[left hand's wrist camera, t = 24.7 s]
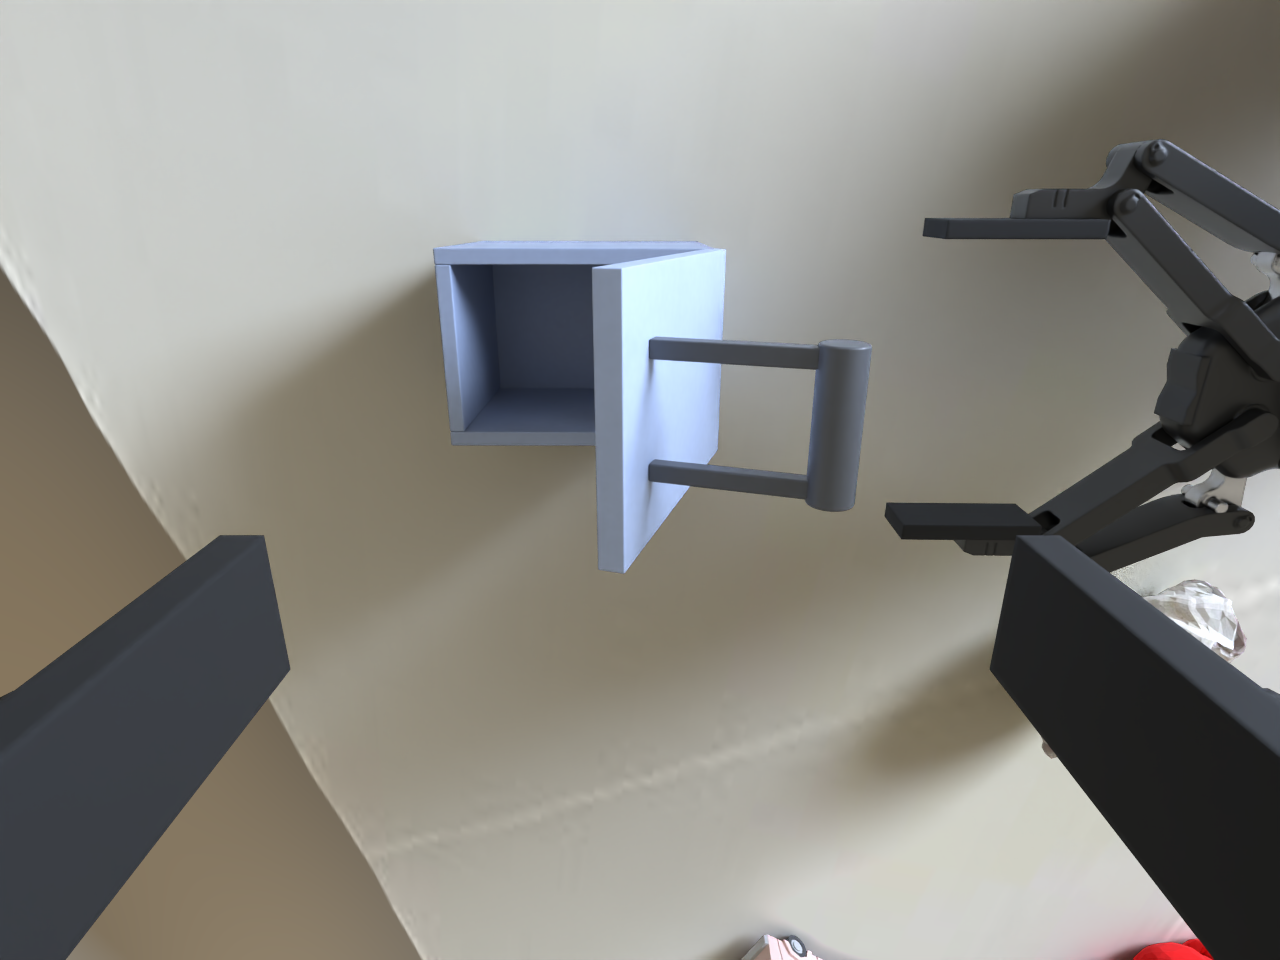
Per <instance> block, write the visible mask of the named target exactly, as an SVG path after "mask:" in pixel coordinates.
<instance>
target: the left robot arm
mask: <svg viewBox="0 0 1280 960" xmlns="http://www.w3.org/2000/svg"><path fill="white" fill-rule="evenodd" d="M289 671H290V665H289V660H288V655H287V650H286V645H285V639H284V634H283V629H282V624H281V619H280V614H279V609H278V604H277V599H276V594H275V589H274V584H273V579H272V574H271V569H270V564H269V559H268V554H267V549H266V544H265V539H264V535H220V536H218V537H217V538H216V539H215V540H213V541H212V542H211V543H209V544H208V545H207V546H205V547H204V548H203V549H201V550H200V551H199V552H197V553H196V554H195V555H193V556H192V557H191V558H189V559H188V560H187V561H185V562H184V563H183V564H181V565H180V566H179V567H177V568H176V569H175V570H173V571H172V572H171V573H170V574H168V575H167V576H166V577H164V578H163V579H162V580H160V581H159V582H158V583H156V584H155V585H154V586H152V587H151V588H150V589H148V590H147V591H146V592H144V593H143V594H142V595H140V596H139V597H138V598H136V599H135V600H134V601H132V602H131V603H130V604H129V605H127V606H126V607H124V608H123V609H122V610H121V611H119V612H118V613H117V614H115V615H114V616H113V617H111V618H110V619H109V620H107V621H106V622H105V623H103V624H102V625H101V626H99V627H98V628H97V629H95V630H94V631H93V632H91V633H90V634H89V635H87V636H86V637H85V638H83V639H82V640H81V641H80V642H78V643H77V644H76V645H74V646H73V647H72V648H70V649H69V650H68V651H66V652H65V653H64V654H62V655H61V656H60V657H58V658H57V659H56V660H54V661H53V662H52V663H50V664H49V665H48V666H46V667H45V668H44V669H42V670H41V671H40V672H38V673H37V674H36V675H35V676H33V677H32V678H31V679H29V680H28V681H27V682H25V683H24V684H23V685H21V686H20V687H19V688H17V689H16V690H15V691H12V692H10V693H8V694H6V695H4V696H2V697H0V960H66V958H67V957H68V956H69V955H70V953H71V952H72V951H73V949H74V948H75V947H76V945H77V944H78V943H79V942H80V940H81V939H82V938H83V937H84V935H85V934H86V933H87V931H88V930H89V929H90V927H91V926H92V925H93V924H94V922H95V921H96V920H97V918H98V917H99V916H100V915H101V913H102V912H103V911H104V909H105V908H106V907H107V905H108V904H109V903H110V902H111V900H112V899H113V898H114V897H115V895H116V894H117V893H118V891H119V890H120V889H121V887H122V886H123V885H124V884H125V882H126V881H127V880H128V878H129V877H130V876H131V875H132V873H133V872H134V871H135V869H136V868H137V867H138V866H139V864H140V863H141V862H142V860H143V859H144V858H145V856H146V855H147V854H148V853H149V851H150V850H151V849H152V847H153V846H154V845H155V844H156V842H157V841H158V840H159V838H160V837H161V836H162V835H163V833H164V832H165V831H166V829H167V828H168V827H169V825H170V824H171V823H172V822H173V820H174V819H175V818H176V816H177V815H178V814H179V813H180V811H181V810H182V809H183V807H184V806H185V805H186V804H187V802H188V801H189V800H190V798H191V797H192V796H193V795H194V793H195V792H196V791H197V789H198V788H199V787H200V785H201V784H202V783H203V782H204V780H205V779H206V778H207V776H208V775H209V774H210V773H211V771H212V770H213V769H214V767H215V766H216V765H217V764H218V762H219V761H220V760H221V758H222V757H223V756H224V754H225V753H226V752H227V751H228V749H229V748H230V747H231V745H232V744H233V743H234V742H235V740H236V739H237V738H238V736H239V735H240V734H241V733H242V731H243V730H244V729H245V727H246V726H247V725H248V723H249V722H250V721H251V720H252V718H253V717H254V716H255V714H256V713H257V712H258V711H259V709H260V708H261V707H262V705H263V704H264V703H265V702H266V700H267V699H268V698H269V696H270V695H271V694H272V693H273V691H274V690H275V689H276V687H277V686H278V685H279V683H280V682H281V681H282V680H283V678H284V677H285V676H286V674H287V673H288V672H289ZM990 671H991V672H992V673H993V674H994V676H995V677H996V678H997V680H998V681H999V682H1000V683H1001V685H1002V686H1003V687H1004V689H1005V690H1006V691H1007V693H1008V694H1009V695H1010V696H1011V698H1012V699H1013V700H1014V702H1015V703H1016V704H1017V705H1018V707H1019V708H1020V709H1021V711H1022V712H1023V713H1024V714H1025V716H1026V717H1027V718H1028V720H1029V721H1030V722H1031V724H1032V725H1033V726H1034V727H1035V729H1036V730H1037V731H1038V733H1039V734H1040V735H1041V736H1042V738H1043V739H1044V740H1045V742H1046V743H1047V744H1048V745H1049V747H1050V748H1051V749H1052V751H1053V752H1054V753H1055V754H1056V756H1057V757H1058V758H1059V760H1060V761H1061V762H1062V764H1063V765H1064V766H1065V767H1066V769H1067V770H1068V771H1069V773H1070V774H1071V775H1072V776H1073V778H1074V779H1075V780H1076V782H1077V783H1078V784H1079V785H1080V787H1081V788H1082V789H1083V791H1084V792H1085V793H1086V795H1087V796H1088V797H1089V798H1090V800H1091V801H1092V802H1093V804H1094V805H1095V806H1096V807H1097V809H1098V810H1099V811H1100V813H1101V814H1102V815H1103V816H1104V818H1105V819H1106V820H1107V822H1108V823H1109V824H1110V826H1111V827H1112V828H1113V829H1114V831H1115V832H1116V833H1117V835H1118V836H1119V837H1120V838H1121V840H1122V841H1123V842H1124V844H1125V845H1126V846H1127V847H1128V849H1129V850H1130V851H1131V853H1132V854H1133V855H1134V856H1135V858H1136V859H1137V860H1138V862H1139V863H1140V864H1141V866H1142V867H1143V868H1144V869H1145V871H1146V872H1147V873H1148V875H1149V876H1150V877H1151V878H1152V880H1153V881H1154V882H1155V884H1156V885H1157V886H1158V887H1159V889H1160V890H1161V891H1162V893H1163V894H1164V895H1165V897H1166V898H1167V899H1168V900H1169V902H1170V903H1171V904H1172V906H1173V907H1174V908H1175V909H1176V911H1177V912H1178V913H1179V915H1180V916H1181V917H1182V918H1183V920H1184V921H1185V922H1186V924H1187V925H1188V926H1189V927H1190V929H1191V930H1192V931H1193V933H1194V934H1195V935H1196V937H1197V938H1198V939H1199V940H1200V942H1201V943H1202V944H1203V946H1204V947H1205V948H1206V949H1207V951H1208V952H1209V953H1210V955H1211V956H1212V957H1213V958H1214V960H1280V694H1278V693H1276V692H1274V691H1272V690H1270V689H1268V688H1261V687H1260V686H1259V685H1257V684H1256V683H1255V682H1253V681H1252V680H1251V679H1250V678H1248V677H1247V676H1246V675H1244V674H1243V673H1242V672H1240V671H1239V670H1238V669H1236V668H1235V667H1234V666H1232V665H1231V664H1230V663H1228V662H1227V661H1226V660H1224V659H1223V658H1222V657H1220V656H1219V655H1218V654H1216V653H1215V652H1214V651H1212V650H1211V649H1210V648H1208V647H1207V646H1206V645H1204V644H1203V643H1202V642H1201V641H1199V640H1198V639H1197V638H1195V637H1194V636H1193V635H1191V634H1190V633H1189V632H1187V631H1186V630H1185V629H1183V628H1182V627H1181V626H1179V625H1178V624H1177V623H1175V622H1174V621H1173V620H1171V619H1170V618H1169V617H1167V616H1166V615H1165V614H1163V613H1162V612H1161V611H1159V610H1158V609H1157V608H1156V607H1154V606H1153V605H1152V604H1150V603H1149V602H1148V601H1146V600H1145V599H1144V598H1142V597H1141V596H1140V595H1138V594H1137V593H1136V592H1134V591H1133V590H1132V589H1130V588H1129V587H1128V586H1126V585H1125V584H1124V583H1122V582H1121V581H1120V580H1118V579H1117V578H1116V577H1114V576H1113V575H1112V574H1110V573H1109V572H1108V571H1107V570H1105V569H1104V568H1103V567H1101V566H1100V565H1099V564H1097V563H1096V562H1095V561H1093V560H1092V559H1091V558H1089V557H1088V556H1087V555H1085V554H1084V553H1083V552H1081V551H1080V550H1079V549H1077V548H1076V547H1075V546H1073V545H1072V544H1071V543H1069V542H1068V541H1067V540H1065V539H1064V538H1063V537H1062V536H1060V535H1016V539H1015V544H1014V549H1013V554H1012V559H1011V564H1010V569H1009V574H1008V579H1007V584H1006V589H1005V594H1004V599H1003V604H1002V609H1001V614H1000V619H999V624H998V629H997V634H996V639H995V645H994V650H993V655H992V660H991V665H990Z"/></svg>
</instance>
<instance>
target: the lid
mask: <svg viewBox="0 0 1280 960" xmlns="http://www.w3.org/2000/svg"><path fill="white" fill-rule="evenodd" d="M725 258H726V249H703V250H697V251H691V252H685V253H679V254H672V255H666V256H660V257H654V258H648V259H642V260H636V261H630V262H624V263H618V264H611V265H605V266H599V267H593V268H592V299H593V346H594V394H595V441H596V488H597V535H598V569H599V570H604V571H610V572H616V573H623V574H624V573H625V572H626V571H627V569H628V568H629V567H630V565H631V564H632V563H633V561H634V560H635V559H636V557H637V556H638V555H639V553H640V552H641V551H642V549H643V548H644V547H645V545H646V544H647V543H648V541H649V540H650V539H651V537H652V536H653V535H654V533H655V532H656V531H657V530H658V528H659V527H660V526H661V524H662V523H663V522H664V520H665V519H666V518H667V516H668V515H669V514H670V512H671V511H672V510H673V508H674V507H675V506H676V504H677V503H678V502H679V500H680V499H681V498H682V496H683V495H684V494H685V492H686V491H687V490H688V488H689V487H690V486H694V487H702V488H711V489H720V490H728V491H737V492H746V493H754V494H763V495H772V496H780V497H789V498H798V499H805V501H806V503H807V504H808V505H809V506H811V507H813V508H815V509H819V510H823V511H830V512H840V511H846V510H849V509H851V508H852V507H853V506H854V503H855V495H856V486H857V477H858V468H859V459H860V450H861V441H862V432H863V424H864V415H865V406H866V397H867V388H868V379H869V370H870V361H871V352H872V346H871V344H869V343H867V342H863V341H857V340H843V339H835V340H825V341H821V342H819V344H818V345H809V344H790V343H771V342H752V341H733V340H722V332H723V307H724V283H725ZM721 364H733V365H749V366H765V367H781V368H797V369H813V370H816V375H815V387H814V398H813V410H812V422H811V433H810V445H809V456H808V468H807V475H801V474H791V473H782V472H772V471H763V470H753V469H744V468H734V467H725V466H715V465H707V463H708V462H709V461H710V459H711V458H712V457H713V455H714V454H715V453H716V451H717V450H718V431H719V406H720V382H721Z"/></svg>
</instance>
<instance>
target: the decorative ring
mask: <svg viewBox="0 0 1280 960" xmlns="http://www.w3.org/2000/svg"><path fill="white" fill-rule="evenodd" d="M1133 960H1214V958H1213V957H1212V956H1211V955H1210V953H1209V952H1208V951H1207V949H1206V948H1205V947H1204V946H1203V944H1202V943H1201V942H1200V940H1199V939H1191V940H1188V941H1186V942H1185V943H1183V944H1179V943H1172V942H1169V943H1158V944H1154V945H1149V946H1147V947H1145V948H1143V949H1142V950H1141V951H1140V952H1139V953H1138V954H1137V955H1136V956H1135V957H1134V958H1133Z"/></svg>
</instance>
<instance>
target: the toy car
mask: <svg viewBox="0 0 1280 960" xmlns="http://www.w3.org/2000/svg"><path fill="white" fill-rule="evenodd" d="M806 950H807V949H806V948H805V946H804V944H803V943H802V941H801V940H800V939H799V938H797V937H796V936H793V935H791V936H790V937H789V938H788V939H787V940H785V939H783V941H781V940H778V939H776V938H774V937H772V936H770V935H763V936H762V937H761V939H760V940H759V941H758V942H757V943H756V944H755V945H754V946H753V947H752V948H751V949H750V950H749V951H748V953H747V954H746V955H745V956H744V957H743V958H742V959H741V960H822V959H820V958H818V957H816V956H814V955H812V952H811V951H809V950H807V951H806Z"/></svg>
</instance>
